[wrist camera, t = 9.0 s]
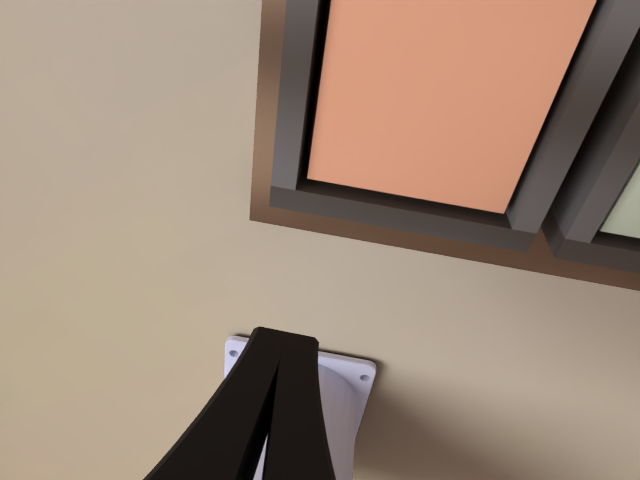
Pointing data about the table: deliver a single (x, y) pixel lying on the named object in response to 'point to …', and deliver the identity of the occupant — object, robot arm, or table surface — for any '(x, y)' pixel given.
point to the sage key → (625, 208)
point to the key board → (451, 220)
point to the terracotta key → (439, 94)
